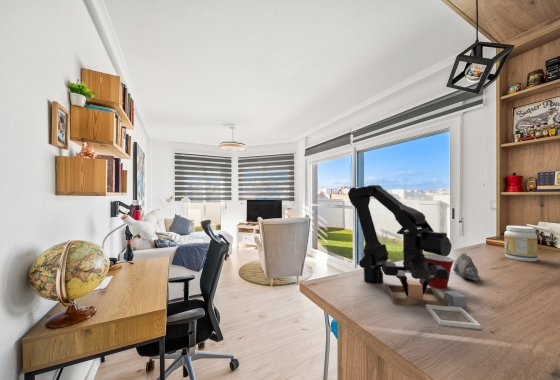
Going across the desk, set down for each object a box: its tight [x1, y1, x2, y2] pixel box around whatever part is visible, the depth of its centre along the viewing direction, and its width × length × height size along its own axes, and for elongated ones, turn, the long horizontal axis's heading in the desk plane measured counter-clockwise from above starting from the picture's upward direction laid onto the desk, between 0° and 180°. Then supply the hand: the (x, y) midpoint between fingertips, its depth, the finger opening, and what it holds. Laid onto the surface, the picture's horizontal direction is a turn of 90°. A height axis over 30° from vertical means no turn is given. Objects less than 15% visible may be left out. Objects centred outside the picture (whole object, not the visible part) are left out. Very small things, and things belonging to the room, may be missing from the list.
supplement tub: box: [503, 225, 539, 262], centre depth 122 cm, size 12×12×17 cm
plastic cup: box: [423, 252, 456, 290], centre depth 86 cm, size 11×11×12 cm
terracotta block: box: [407, 279, 423, 300], centre depth 76 cm, size 4×4×5 cm
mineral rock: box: [452, 252, 480, 282], centre depth 96 cm, size 13×11×10 cm
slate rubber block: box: [443, 290, 468, 308], centre depth 72 cm, size 4×4×4 cm
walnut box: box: [384, 283, 450, 308], centre depth 76 cm, size 15×11×2 cm
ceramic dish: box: [425, 304, 482, 330], centre depth 64 cm, size 9×9×2 cm
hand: (413, 296), depth 76 cm, fingers closed on terracotta block, 4 cm apart
